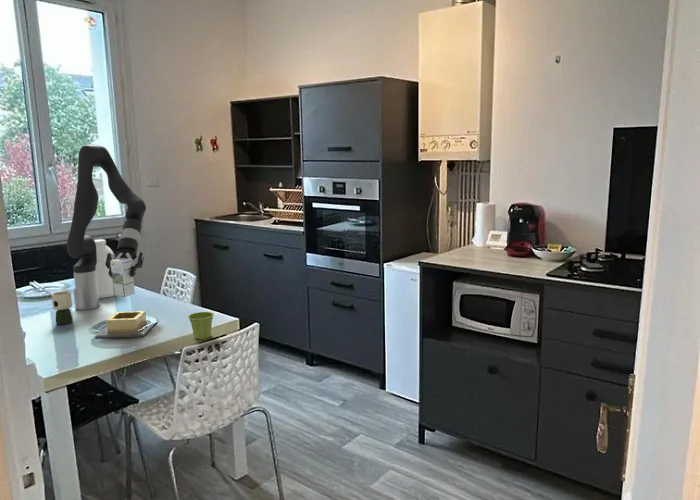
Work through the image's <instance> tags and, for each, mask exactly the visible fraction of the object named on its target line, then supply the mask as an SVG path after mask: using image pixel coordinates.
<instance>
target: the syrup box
mask: <svg viewBox="0 0 700 500" xmlns="http://www.w3.org/2000/svg"><path fill="white" fill-rule="evenodd" d="M110 263H111V272H112V281H113V290H114V296H113V297H121V298H128V297H129V296H133V295H135V294H136V291H135V281H134V276H133V277H131V276H130V270H131V267H132V260H131V259H126V258H118V259H115V258H114V259H113V260H111V261H110Z"/></svg>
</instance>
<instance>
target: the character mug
mask: <svg viewBox="0 0 700 500" xmlns="http://www.w3.org/2000/svg"><path fill="white" fill-rule="evenodd" d="M51 301H52V303H51V304H52V309H53V310H56V311H55V323H56V325H66V324H67V323H70V322H73V320H74V319H73V316H72V312H71V308H72V307H73V302H72V293H71V291H68V290H66V291H65V290H64V291H57V292H53V293H51Z"/></svg>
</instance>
